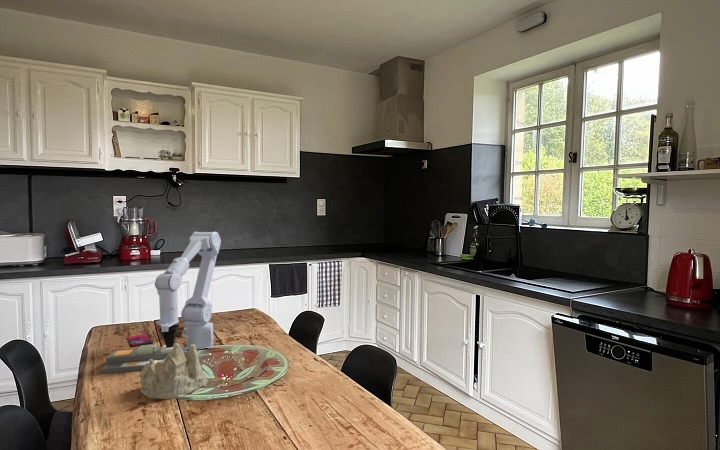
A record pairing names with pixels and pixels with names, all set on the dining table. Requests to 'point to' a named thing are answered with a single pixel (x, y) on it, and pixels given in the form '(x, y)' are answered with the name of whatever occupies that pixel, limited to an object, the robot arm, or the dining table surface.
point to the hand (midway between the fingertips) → (170, 346)
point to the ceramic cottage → (173, 374)
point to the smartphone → (139, 340)
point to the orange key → (123, 353)
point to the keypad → (133, 361)
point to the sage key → (146, 349)
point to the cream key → (166, 349)
